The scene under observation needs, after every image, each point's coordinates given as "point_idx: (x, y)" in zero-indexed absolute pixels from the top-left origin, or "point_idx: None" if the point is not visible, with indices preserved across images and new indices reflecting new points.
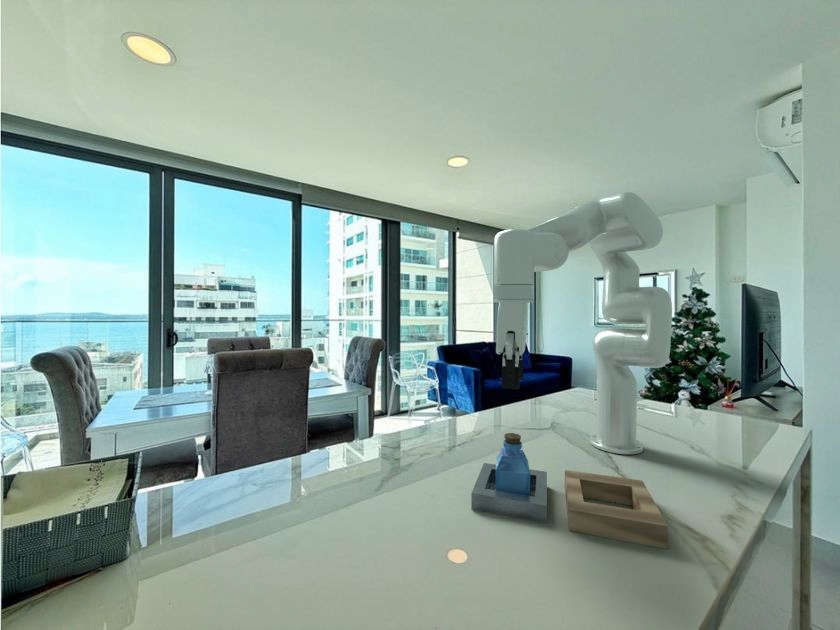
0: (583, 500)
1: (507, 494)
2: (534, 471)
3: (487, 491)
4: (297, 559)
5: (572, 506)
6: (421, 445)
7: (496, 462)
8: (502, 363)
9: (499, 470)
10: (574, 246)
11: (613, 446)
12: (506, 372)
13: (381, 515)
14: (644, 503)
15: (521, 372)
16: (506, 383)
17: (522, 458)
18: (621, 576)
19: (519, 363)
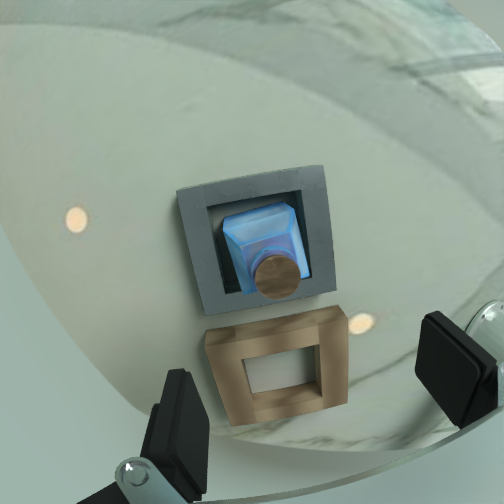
0: (244, 358)
1: (207, 251)
2: (328, 270)
3: (197, 215)
4: (7, 80)
5: (216, 349)
6: (382, 15)
7: (263, 219)
8: (115, 474)
9: (225, 237)
10: None
11: (473, 338)
12: (145, 446)
13: (99, 79)
14: (276, 411)
15: (429, 388)
16: (155, 405)
17: (252, 289)
18: (154, 376)
19: (454, 409)
